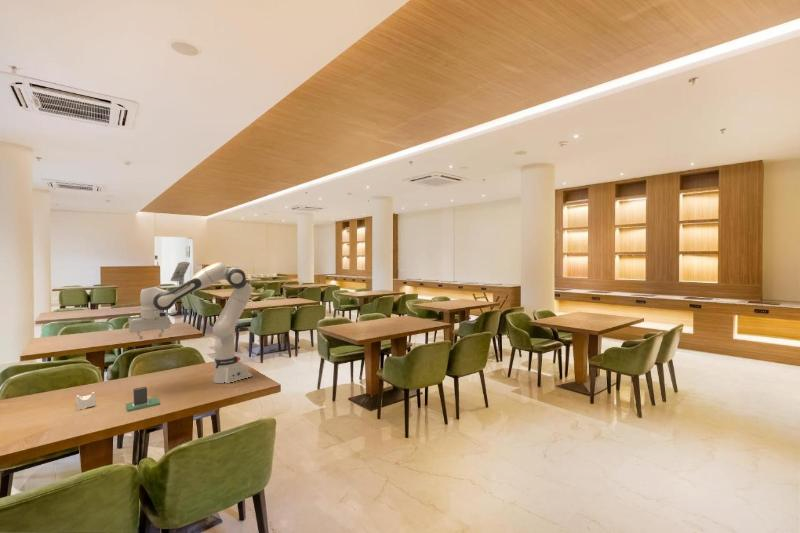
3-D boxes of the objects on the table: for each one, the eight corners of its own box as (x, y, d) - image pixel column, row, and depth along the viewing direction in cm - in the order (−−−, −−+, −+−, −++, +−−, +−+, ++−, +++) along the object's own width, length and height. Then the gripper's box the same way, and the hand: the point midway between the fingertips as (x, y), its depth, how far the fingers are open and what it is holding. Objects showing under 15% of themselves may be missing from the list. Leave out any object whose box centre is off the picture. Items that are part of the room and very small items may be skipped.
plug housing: (146, 401, 202) (146, 386, 202) (147, 403, 199) (146, 387, 199) (133, 403, 199) (133, 388, 198) (134, 405, 196) (133, 390, 196)
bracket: (95, 407, 198) (94, 393, 198) (77, 411, 194) (76, 396, 193) (93, 400, 208) (92, 387, 208) (76, 404, 203) (75, 390, 203)
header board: (156, 398, 208) (156, 391, 208) (160, 404, 200) (159, 397, 200) (125, 405, 199) (125, 398, 199) (127, 411, 191) (127, 404, 191)
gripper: (128, 317, 210) (129, 341, 211) (170, 313, 223) (171, 336, 224) (127, 315, 215) (128, 340, 215) (169, 311, 228) (169, 334, 229)
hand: (150, 338), depth 220 cm, fingers open, 8 cm apart
